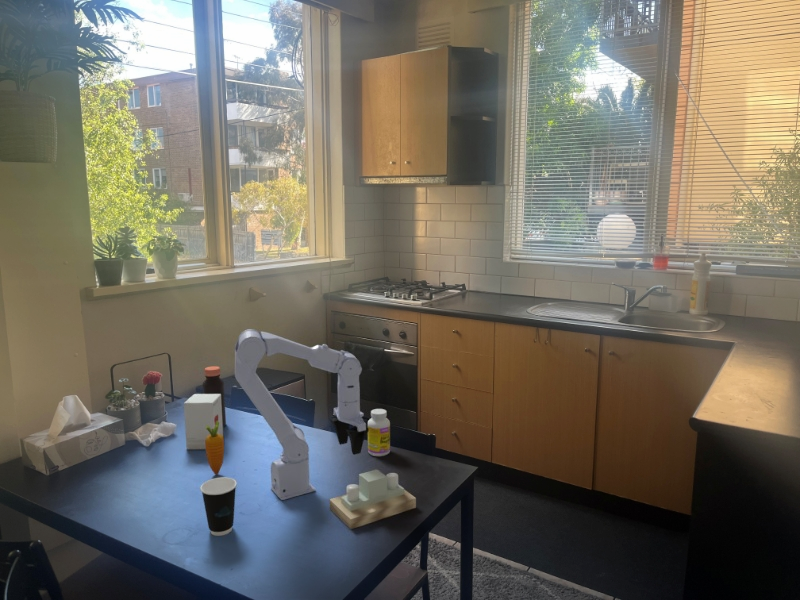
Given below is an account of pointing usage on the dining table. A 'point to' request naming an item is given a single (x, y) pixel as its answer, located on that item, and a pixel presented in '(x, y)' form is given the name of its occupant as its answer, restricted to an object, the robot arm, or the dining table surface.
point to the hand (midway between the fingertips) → (349, 448)
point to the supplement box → (202, 418)
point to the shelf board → (372, 510)
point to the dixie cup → (219, 504)
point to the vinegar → (215, 386)
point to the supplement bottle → (378, 433)
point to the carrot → (214, 448)
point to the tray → (372, 490)
